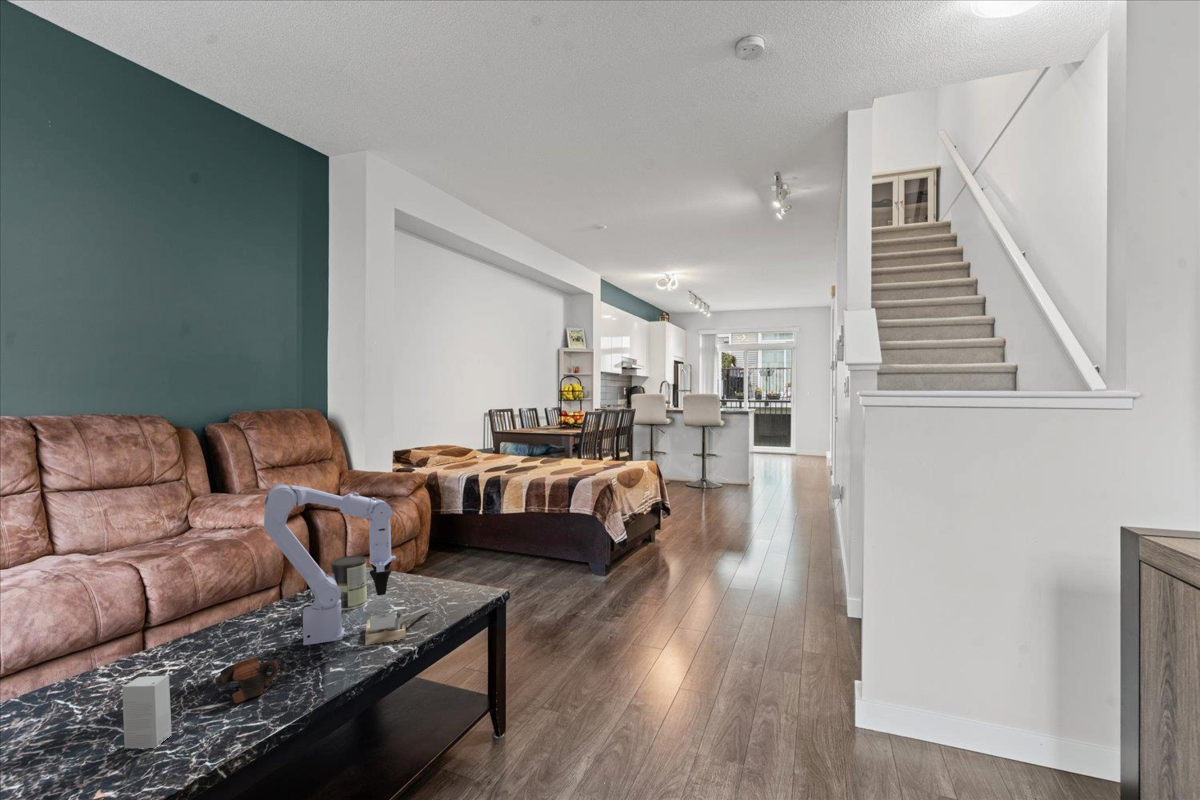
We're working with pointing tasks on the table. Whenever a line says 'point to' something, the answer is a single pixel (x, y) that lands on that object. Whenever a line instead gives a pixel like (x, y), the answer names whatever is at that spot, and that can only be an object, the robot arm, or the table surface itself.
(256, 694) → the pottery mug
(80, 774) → the table surface
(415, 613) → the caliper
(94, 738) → the table surface
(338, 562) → the coffee can
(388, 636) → the tan wooden flat block
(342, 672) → the table surface
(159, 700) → the skincare box
